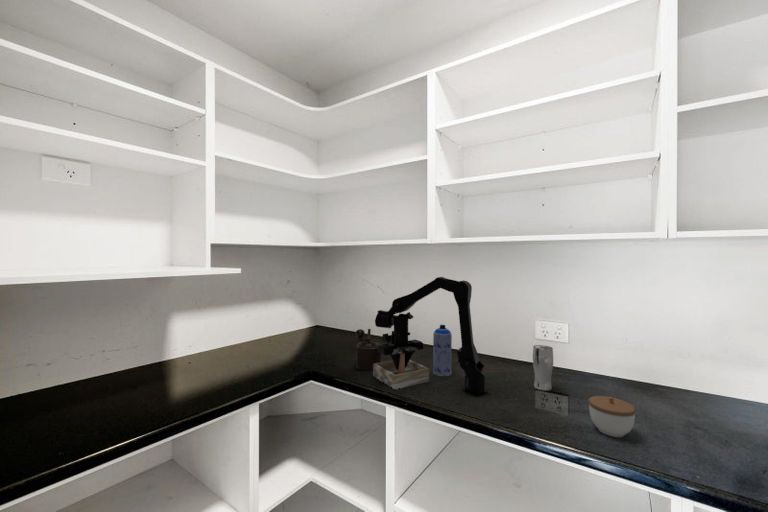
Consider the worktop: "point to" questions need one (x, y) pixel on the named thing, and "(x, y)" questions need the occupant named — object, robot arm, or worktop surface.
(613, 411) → the lidded jar
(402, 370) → the peg
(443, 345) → the aerosol can
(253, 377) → the worktop surface
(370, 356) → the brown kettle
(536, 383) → the beer glass
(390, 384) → the tray
